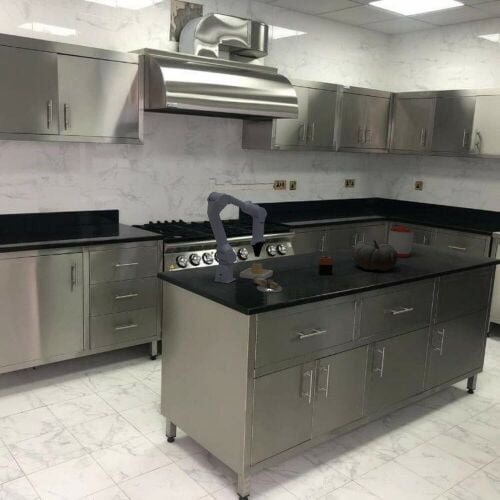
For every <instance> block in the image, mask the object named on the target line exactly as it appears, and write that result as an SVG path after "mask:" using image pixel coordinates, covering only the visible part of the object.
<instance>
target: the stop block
mask: <svg viewBox="0 0 500 500" xmlns="http://www.w3.org/2000/svg"><path fill="white" fill-rule="evenodd" d="M251 268H252V274H258V275H262V269H263V263H260V262H259V263H258V262H254V263H252V264H251Z"/></svg>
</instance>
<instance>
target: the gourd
mask: <svg viewBox="0 0 500 500" xmlns="http://www.w3.org/2000/svg"><path fill="white" fill-rule="evenodd" d="M373 244H374V245H373ZM373 244H371V243H370V242H368V241H365V240H364V241H363V240H361V241H358V242H357V243H356V244H355V245H354V246H353V249H352V257H353V259H354V262H355V263H356V264H357V265H358V266H360V268H363V269H364V270H366V271H367V270H368V271H375V270H377V271H379V272H386V271H389V270H391V269H392V268H394V267H395V266H396V265H397V262H398V258H399V257H398V254H397V252H396V250H395V249H394V248H393V247H392V246H391V245H389V244H388V243H380V244H378V243H377V241H376V239H373Z"/></svg>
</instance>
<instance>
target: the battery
mask: <svg viewBox="0 0 500 500" xmlns="http://www.w3.org/2000/svg"><path fill="white" fill-rule="evenodd" d="M333 262H334V258H333V257H332V256H330V255H328V256H326V255H321V256H319V258H318V274H319V275H320V276H332V275H333V266H334V263H333Z"/></svg>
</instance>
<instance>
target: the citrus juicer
mask: <svg viewBox="0 0 500 500" xmlns="http://www.w3.org/2000/svg"><path fill="white" fill-rule="evenodd" d="M388 232H389V233H388V241H387V242H388V243H387V244H389V245H391V246H392V247H393V248H394V249H395V250H396V252H397V254H398V258H408V257H410V254H411V252H412V249H413V244H414V239H416V235H415V230H412V231H410V228H407V227H405V226H404V225H403V224H400V225H399V226H398V227H391V228H389V229H388Z"/></svg>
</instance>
